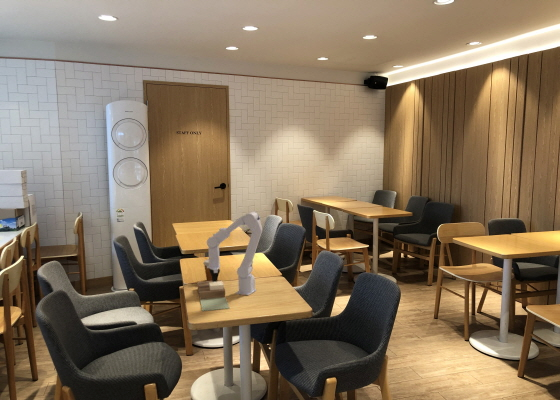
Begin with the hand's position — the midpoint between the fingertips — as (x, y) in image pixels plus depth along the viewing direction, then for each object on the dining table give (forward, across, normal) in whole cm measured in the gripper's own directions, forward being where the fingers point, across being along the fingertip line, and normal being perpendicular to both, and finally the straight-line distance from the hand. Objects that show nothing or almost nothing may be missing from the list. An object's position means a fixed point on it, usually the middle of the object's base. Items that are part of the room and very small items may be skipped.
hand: (214, 282), depth 236 cm
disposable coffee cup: (+5, -21, 0) cm, 21 cm away
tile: (0, +8, 0) cm, 8 cm away
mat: (+5, +21, -2) cm, 22 cm away
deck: (+5, +3, -2) cm, 6 cm away
